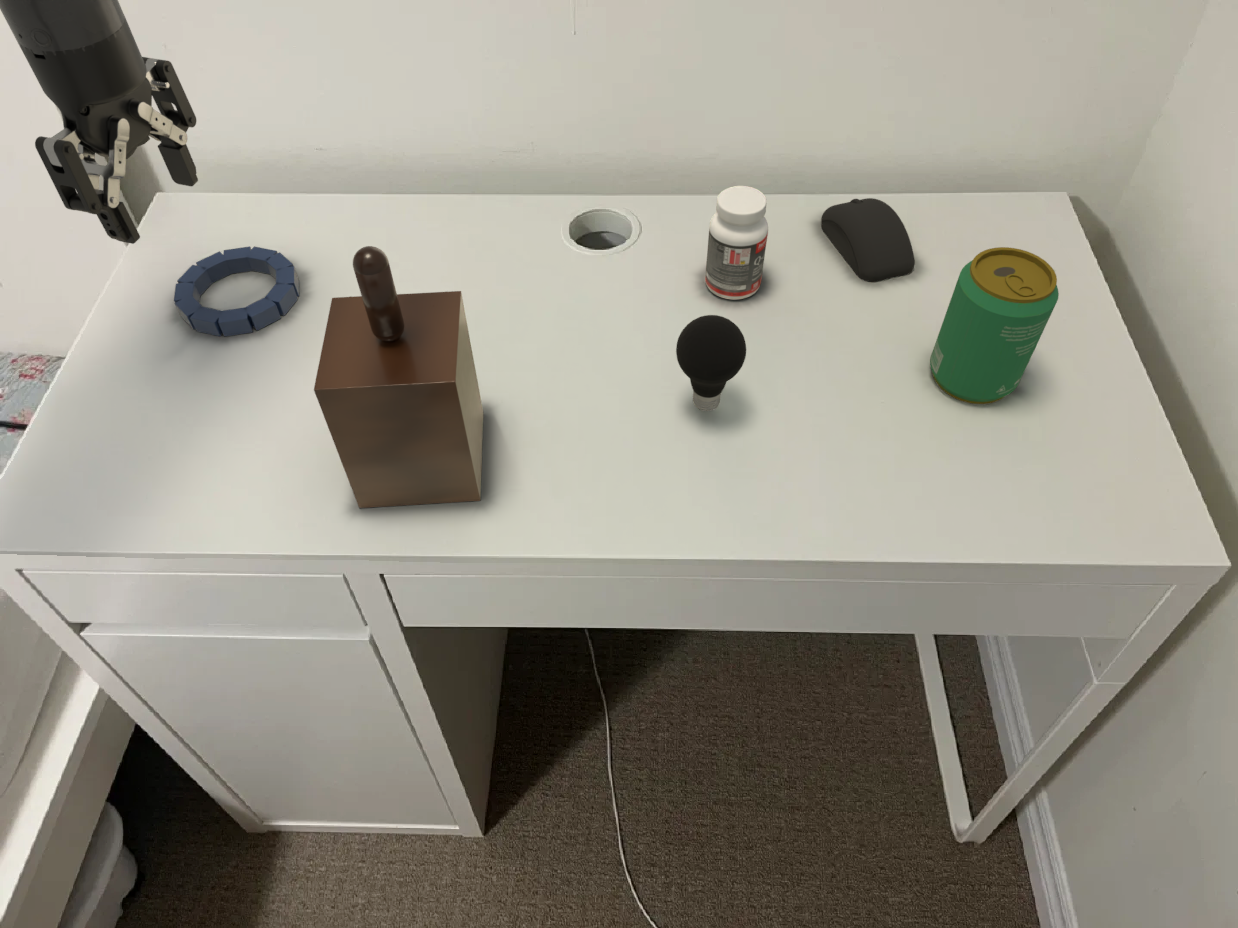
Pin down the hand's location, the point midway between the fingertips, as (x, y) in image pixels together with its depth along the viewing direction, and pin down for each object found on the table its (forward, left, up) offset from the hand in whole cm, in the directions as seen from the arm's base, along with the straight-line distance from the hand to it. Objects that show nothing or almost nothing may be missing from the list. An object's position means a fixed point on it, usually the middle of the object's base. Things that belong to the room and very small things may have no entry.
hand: (158, 210), depth 79 cm
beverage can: (+72, -12, -14) cm, 74 cm away
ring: (+2, +5, -14) cm, 14 cm away
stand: (+22, -18, -13) cm, 32 cm away
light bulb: (+47, -14, -14) cm, 51 cm away
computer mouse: (+67, +8, -14) cm, 69 cm away
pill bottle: (+52, +3, -14) cm, 54 cm away
